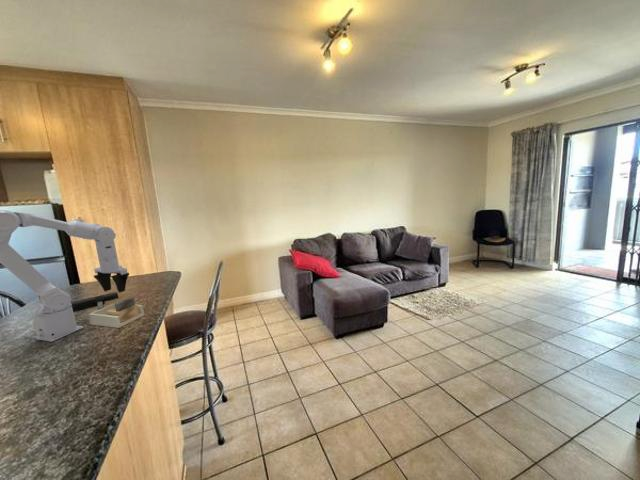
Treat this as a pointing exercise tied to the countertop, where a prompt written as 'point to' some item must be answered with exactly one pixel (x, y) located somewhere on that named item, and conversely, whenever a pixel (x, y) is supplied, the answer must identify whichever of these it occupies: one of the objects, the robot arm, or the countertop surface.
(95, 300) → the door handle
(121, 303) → the tan block with handle
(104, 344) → the countertop surface
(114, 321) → the bay
